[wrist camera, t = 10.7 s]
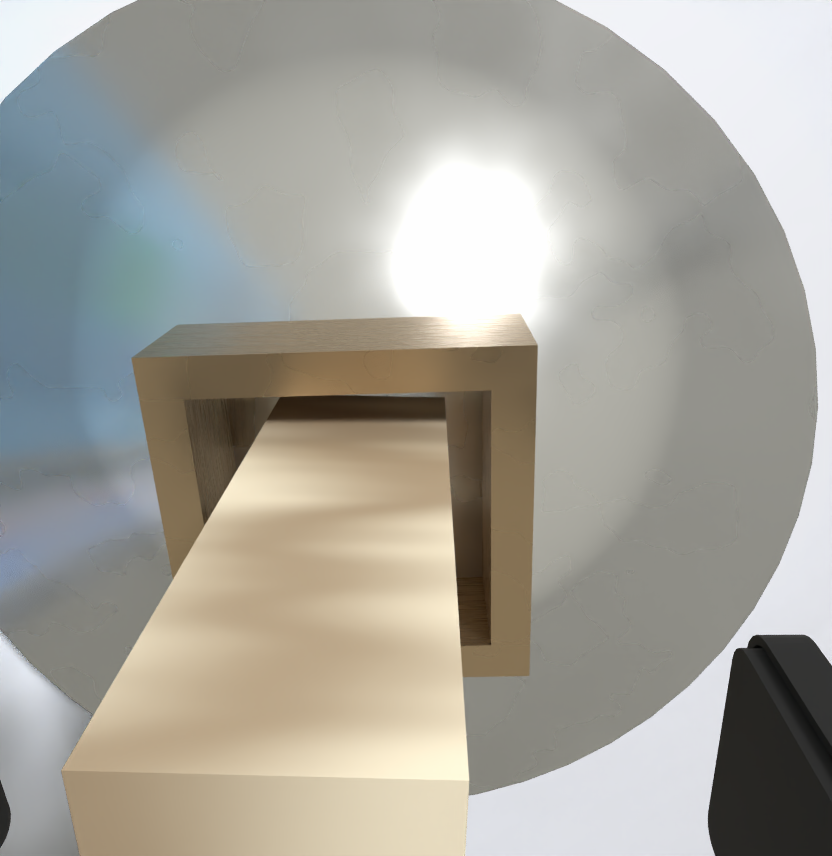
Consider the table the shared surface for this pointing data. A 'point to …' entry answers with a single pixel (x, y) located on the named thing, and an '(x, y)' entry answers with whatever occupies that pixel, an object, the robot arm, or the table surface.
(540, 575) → the rosette plate
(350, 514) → the tan block
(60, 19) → the table surface
